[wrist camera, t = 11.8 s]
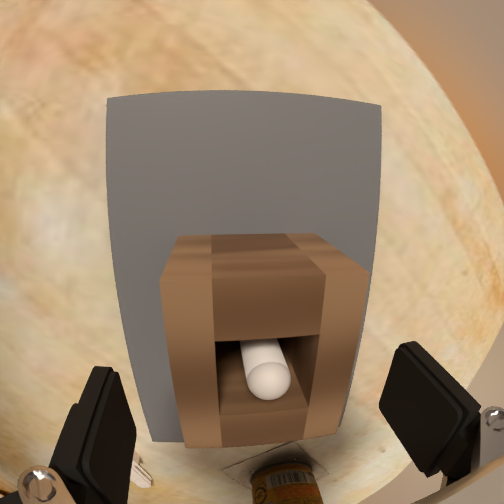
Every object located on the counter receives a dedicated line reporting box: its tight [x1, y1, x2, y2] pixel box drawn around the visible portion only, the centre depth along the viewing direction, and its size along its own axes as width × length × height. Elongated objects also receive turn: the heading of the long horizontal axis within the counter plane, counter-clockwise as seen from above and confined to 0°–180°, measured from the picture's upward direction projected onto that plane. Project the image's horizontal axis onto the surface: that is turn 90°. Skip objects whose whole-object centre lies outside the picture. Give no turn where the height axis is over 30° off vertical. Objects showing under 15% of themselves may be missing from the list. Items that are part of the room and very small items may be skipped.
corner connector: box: [130, 450, 152, 488], centre depth 21 cm, size 8×8×2 cm
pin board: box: [106, 90, 382, 442], centre depth 14 cm, size 22×14×8 cm, turn 179°
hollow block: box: [159, 233, 369, 448], centre depth 13 cm, size 8×7×6 cm
